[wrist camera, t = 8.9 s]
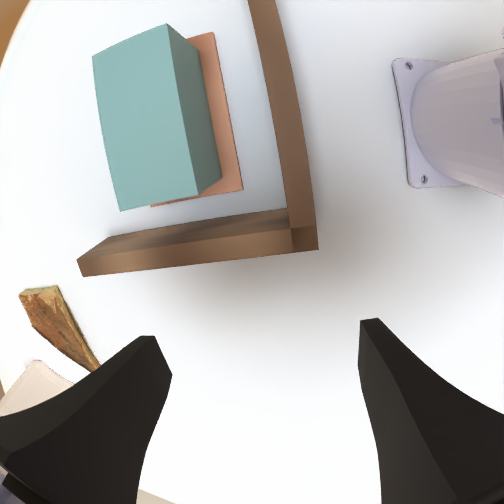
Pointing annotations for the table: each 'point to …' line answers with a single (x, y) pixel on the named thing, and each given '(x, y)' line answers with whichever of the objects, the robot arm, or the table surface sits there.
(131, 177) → the teal block
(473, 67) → the robot arm
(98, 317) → the table surface
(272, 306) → the table surface
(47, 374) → the jar
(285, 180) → the corner arena
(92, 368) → the shard
